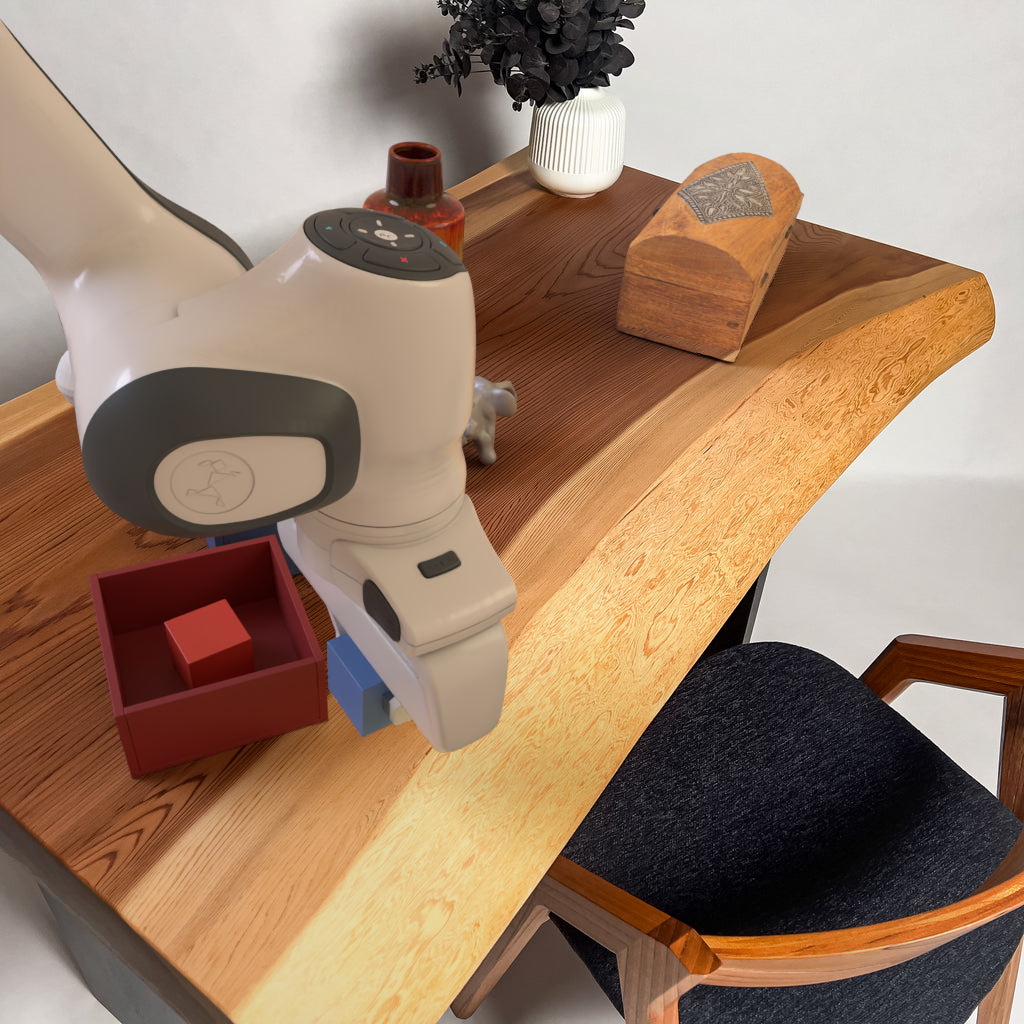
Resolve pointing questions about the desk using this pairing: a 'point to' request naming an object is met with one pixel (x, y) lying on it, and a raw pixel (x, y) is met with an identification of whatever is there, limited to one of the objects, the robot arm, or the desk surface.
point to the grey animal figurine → (488, 415)
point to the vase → (420, 193)
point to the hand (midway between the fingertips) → (376, 682)
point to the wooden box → (710, 253)
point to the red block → (209, 645)
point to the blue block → (356, 686)
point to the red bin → (219, 706)
